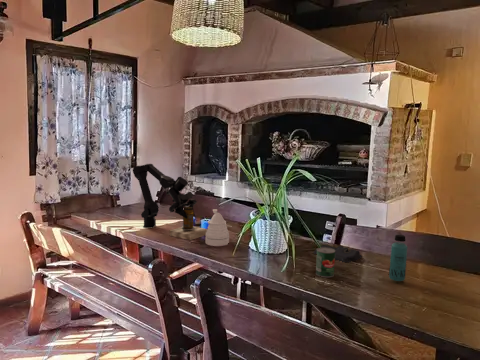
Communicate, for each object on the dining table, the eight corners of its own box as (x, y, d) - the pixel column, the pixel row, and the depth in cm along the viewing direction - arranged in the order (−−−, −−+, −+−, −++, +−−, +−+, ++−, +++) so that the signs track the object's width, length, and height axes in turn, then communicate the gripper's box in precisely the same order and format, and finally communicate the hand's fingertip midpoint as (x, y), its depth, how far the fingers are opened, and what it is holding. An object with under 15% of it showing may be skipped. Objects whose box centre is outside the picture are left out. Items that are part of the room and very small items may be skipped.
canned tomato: (321, 269, 187) (322, 246, 186) (337, 274, 182) (338, 249, 181) (312, 274, 181) (313, 250, 180) (328, 278, 176) (330, 253, 175)
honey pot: (200, 242, 228) (200, 210, 225) (217, 238, 237) (217, 207, 235) (216, 247, 219) (217, 213, 217) (233, 242, 228) (234, 210, 226)
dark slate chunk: (327, 248, 223) (327, 239, 222) (364, 258, 207) (365, 249, 206) (310, 254, 212) (310, 245, 211) (348, 265, 196) (348, 255, 196)
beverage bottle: (385, 279, 177) (388, 233, 175) (400, 278, 178) (404, 233, 175) (392, 284, 171) (395, 237, 168) (408, 284, 172) (411, 237, 169)
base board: (169, 235, 241) (169, 230, 240) (187, 230, 254) (187, 225, 253) (190, 240, 232) (190, 234, 231) (208, 234, 245) (208, 229, 245)
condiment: (193, 226, 247) (193, 206, 245) (195, 229, 239) (195, 209, 237) (181, 226, 245) (180, 206, 243) (182, 230, 237) (182, 209, 235)
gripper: (172, 189, 234) (187, 211, 229) (194, 185, 249) (208, 206, 245) (162, 201, 239) (176, 223, 235) (184, 197, 255) (198, 217, 250)
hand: (190, 217), depth 241 cm, fingers closed on condiment, 6 cm apart
